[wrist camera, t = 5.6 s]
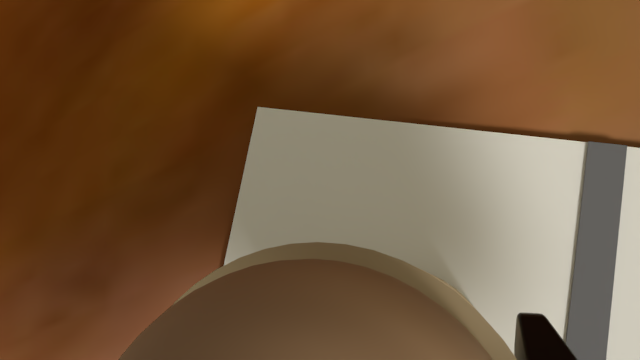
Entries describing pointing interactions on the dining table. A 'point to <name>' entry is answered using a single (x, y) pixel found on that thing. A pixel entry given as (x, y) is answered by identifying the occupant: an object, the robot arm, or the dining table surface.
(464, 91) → the dining table surface
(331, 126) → the board
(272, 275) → the wooden pin
